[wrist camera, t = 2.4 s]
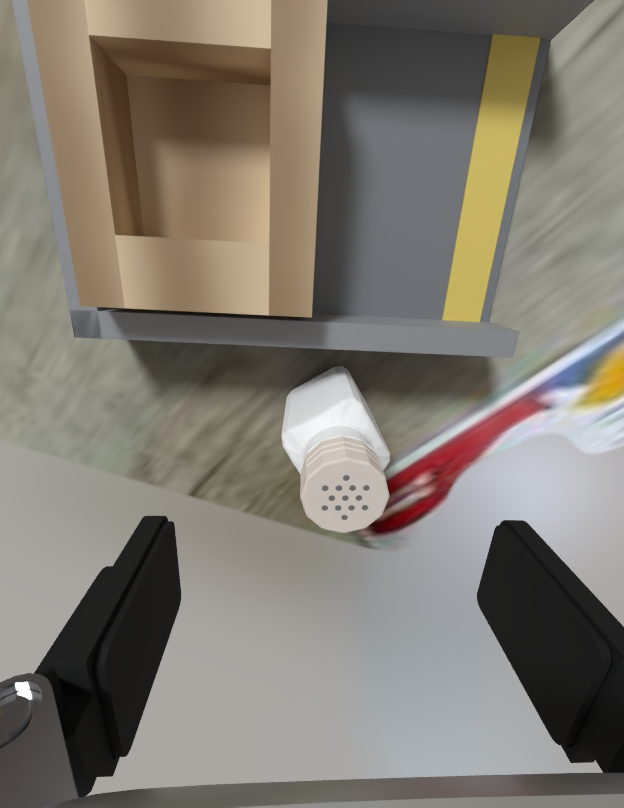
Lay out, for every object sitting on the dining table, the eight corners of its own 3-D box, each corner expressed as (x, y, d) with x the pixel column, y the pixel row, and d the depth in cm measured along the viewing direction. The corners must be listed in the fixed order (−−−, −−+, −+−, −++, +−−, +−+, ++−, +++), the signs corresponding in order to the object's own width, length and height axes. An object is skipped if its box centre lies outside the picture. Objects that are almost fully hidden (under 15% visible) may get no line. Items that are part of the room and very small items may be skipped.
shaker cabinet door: (323, 31, 15) (330, -63, 10) (310, 305, 18) (311, 317, 14) (97, 14, 14) (11, -91, 10) (132, 296, 18) (80, 306, 14)
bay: (543, 17, 15) (619, -62, 12) (474, 340, 20) (512, 357, 17) (69, -21, 15) (-10, -118, 11) (118, 323, 20) (74, 337, 16)
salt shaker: (342, 358, 21) (370, 428, 12) (373, 414, 22) (419, 514, 13) (283, 391, 21) (267, 481, 13) (316, 443, 23) (323, 558, 14)
